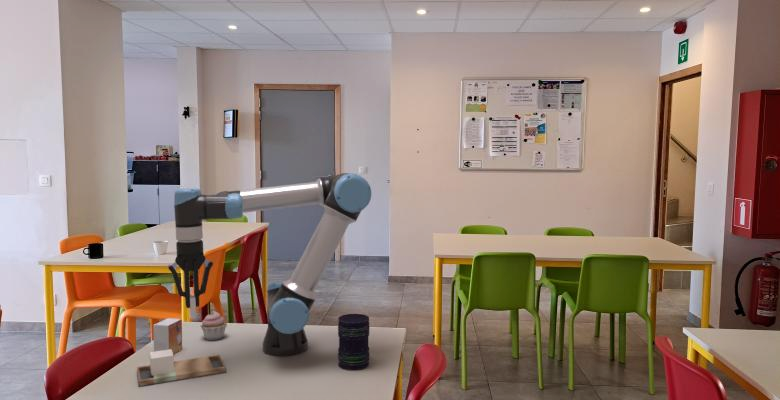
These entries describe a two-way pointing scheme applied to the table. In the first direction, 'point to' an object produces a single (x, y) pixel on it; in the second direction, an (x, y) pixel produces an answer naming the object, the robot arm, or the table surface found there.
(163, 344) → the small box
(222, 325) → the cupcake
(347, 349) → the storage jar
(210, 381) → the table surface
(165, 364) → the block
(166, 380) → the board
